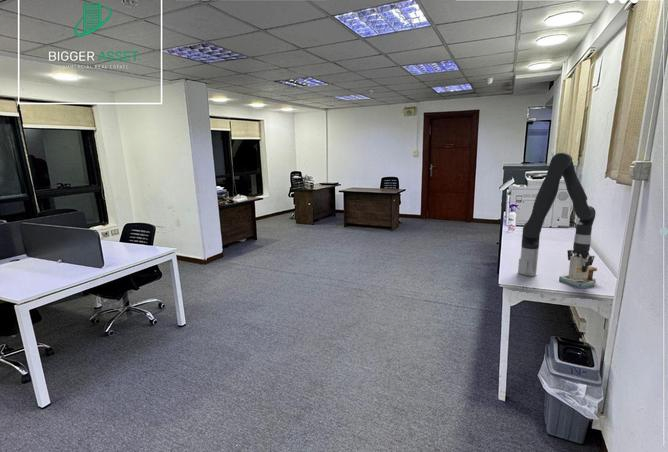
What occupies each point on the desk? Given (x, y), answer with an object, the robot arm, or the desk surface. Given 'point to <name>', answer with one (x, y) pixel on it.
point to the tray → (576, 282)
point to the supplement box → (577, 269)
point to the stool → (590, 274)
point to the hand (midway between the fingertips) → (578, 270)
